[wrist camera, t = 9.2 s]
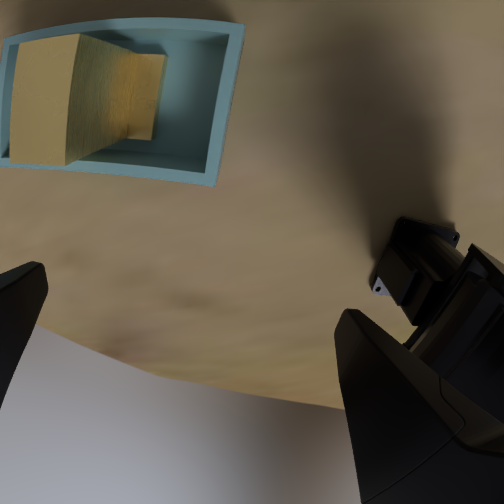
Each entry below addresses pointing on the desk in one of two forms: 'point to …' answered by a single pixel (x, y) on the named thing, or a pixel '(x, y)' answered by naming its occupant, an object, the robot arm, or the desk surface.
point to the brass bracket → (81, 98)
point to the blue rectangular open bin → (172, 101)
